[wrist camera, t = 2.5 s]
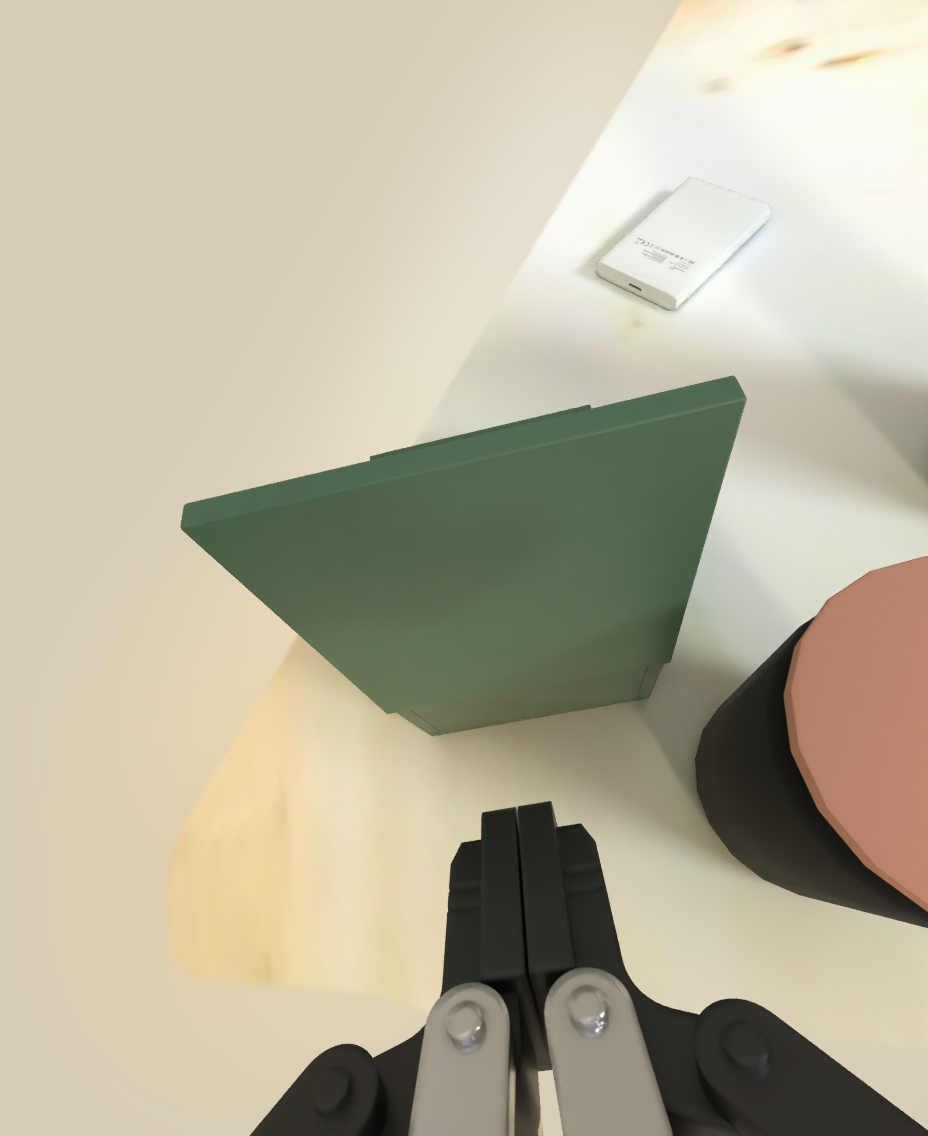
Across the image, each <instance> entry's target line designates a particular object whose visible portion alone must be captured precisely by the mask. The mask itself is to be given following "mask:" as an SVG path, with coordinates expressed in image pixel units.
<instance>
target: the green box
mask: <svg viewBox="0 0 928 1136" xmlns="http://www.w3.org/2000/svg"><path fill="white" fill-rule="evenodd" d="M588 409H591V406H590V405H586V406H582V407H578V408H573V409H569V410H564V411H560V412H556V413H552V414H547V415H543V416H539V417H535V418H530V419H526V420H522V421H518V422H513V423H509V424H505V425H501V426H496V427H492V428H488V429H484V430H479V431H475V432H471V433H467V434H462V435H458V436H454V437H450V438H445V439H441V440H437V441H433V442H428V443H424V444H420V445H416V446H411V447H407V448H403V449H399V450H394V451H391V452H386V453H382V454H378V455H375V456H370V461H371V460H375V459H379V458H384V457H388V456H392V455H396V454H401V453H405V452H409V451H413V450H418V449H422V448H426V447H431V446H435V445H439V444H443V443H448V442H452V441H456V440H460V439H465V438H469V437H473V436H477V435H482V434H486V433H490V432H495V431H499V430H503V429H507V428H512V427H516V426H520V425H524V424H529V423H533V422H537V421H541V420H546V419H550V418H554V417H559V416H563V415H567V414H571V413H576V412H580V411H584V410H588ZM663 664H664V663H662V664H656V665H651V666H646V667H640V668H635V669H629V670H624V671H618V672H613V673H607V674H602V675H596V676H591V677H586V678H580V679H575V680H569V681H564V682H558V683H553V684H547V685H542V686H537V687H531V688H526V689H520V690H515V691H509V692H504V693H498V694H493V695H488V696H482V697H477V698H471V699H466V700H460V701H455V702H449V703H444V704H438V705H433V706H428V707H422V708H417V709H411V710H406V711H400V712H397V713H398V714H400V715H401V716H403V717H404V718H406V719H407V720H409V721H410V722H412V723H413V724H415V725H416V726H418V727H419V728H421V729H422V730H424V731H425V732H427V733H428V734H430V735H431V736H435V735H441V734H447V733H452V732H458V731H463V730H469V729H475V728H480V727H486V726H492V725H497V724H503V723H509V722H514V721H520V720H525V719H531V718H537V717H542V716H548V715H554V714H559V713H565V712H570V711H576V710H582V709H587V708H593V707H599V706H604V705H610V704H616V703H621V702H627V701H632V700H638V699H644V698H648V697H649V696H650V693H651V691H652V689H653V687H654V684H655V682H656V680H657V678H658V675H659V673H660V671H661V668H662V666H663Z"/></svg>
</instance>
